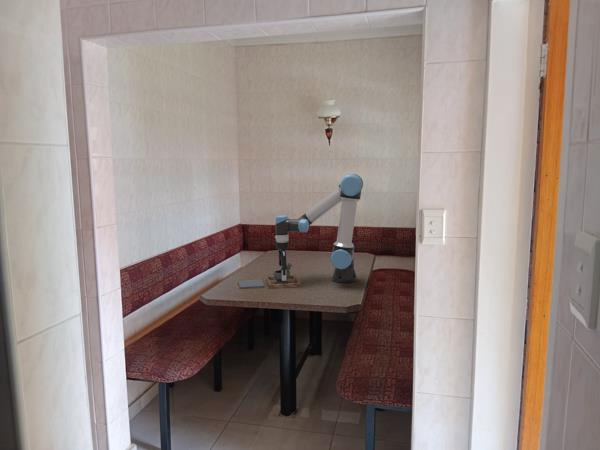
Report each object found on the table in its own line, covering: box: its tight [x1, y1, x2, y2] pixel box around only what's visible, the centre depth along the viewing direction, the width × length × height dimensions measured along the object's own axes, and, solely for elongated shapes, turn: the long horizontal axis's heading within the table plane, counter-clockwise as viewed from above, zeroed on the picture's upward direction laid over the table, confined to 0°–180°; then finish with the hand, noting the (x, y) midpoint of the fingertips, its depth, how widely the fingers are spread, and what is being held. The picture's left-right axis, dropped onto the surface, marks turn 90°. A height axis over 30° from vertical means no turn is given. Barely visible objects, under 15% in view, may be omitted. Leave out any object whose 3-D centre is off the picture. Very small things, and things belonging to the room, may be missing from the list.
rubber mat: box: [238, 278, 265, 290], centre depth 273 cm, size 14×16×1 cm
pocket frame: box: [264, 274, 303, 290], centre depth 277 cm, size 19×22×2 cm
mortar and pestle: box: [272, 262, 293, 284], centre depth 276 cm, size 11×9×12 cm
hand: (282, 278), depth 276 cm, fingers closed on mortar and pestle, 10 cm apart
